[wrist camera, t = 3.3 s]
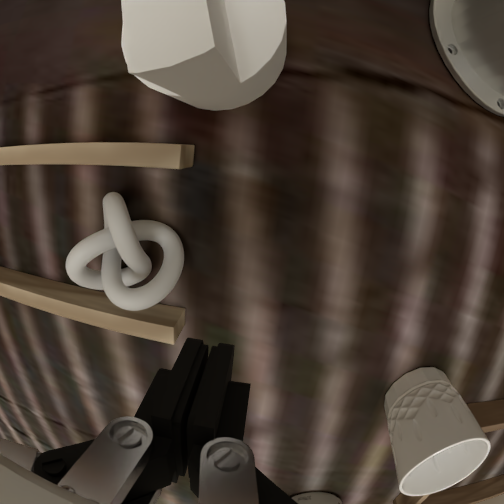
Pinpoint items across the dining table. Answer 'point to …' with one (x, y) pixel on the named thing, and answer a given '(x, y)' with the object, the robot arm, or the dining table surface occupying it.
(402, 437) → the white cup
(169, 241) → the knot
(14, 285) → the guide channel
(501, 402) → the serving tray rim
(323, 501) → the supplement can
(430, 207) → the dining table surface
